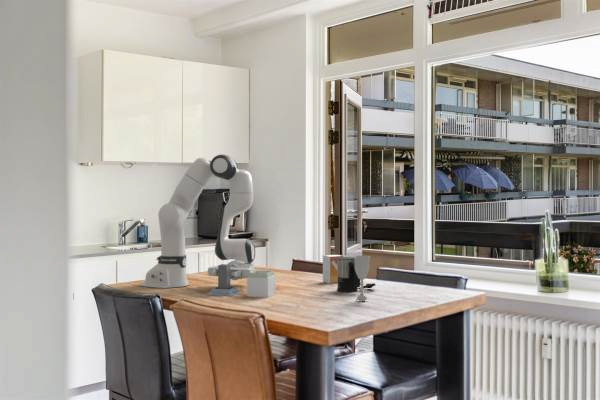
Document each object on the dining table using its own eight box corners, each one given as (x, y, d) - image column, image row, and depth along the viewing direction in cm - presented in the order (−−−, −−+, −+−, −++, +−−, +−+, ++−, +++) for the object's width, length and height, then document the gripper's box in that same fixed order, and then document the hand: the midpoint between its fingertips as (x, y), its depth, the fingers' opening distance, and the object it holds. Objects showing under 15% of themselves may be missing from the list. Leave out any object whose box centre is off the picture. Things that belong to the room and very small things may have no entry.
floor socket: (206, 294, 270) (206, 289, 270) (217, 290, 281) (217, 285, 281) (232, 296, 266) (232, 290, 266) (242, 291, 278) (242, 286, 278)
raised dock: (246, 296, 266) (246, 272, 265) (254, 292, 275) (254, 269, 275) (268, 297, 263) (268, 273, 263) (275, 293, 272) (275, 270, 272)
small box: (330, 283, 300) (330, 256, 300) (322, 282, 306) (322, 255, 305) (343, 282, 305) (343, 255, 304) (335, 280, 310) (335, 254, 310)
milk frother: (332, 290, 280) (332, 257, 280) (354, 286, 291) (354, 254, 291) (357, 294, 270) (357, 260, 270) (379, 290, 281) (379, 257, 281)
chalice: (365, 303, 250) (365, 257, 249) (350, 301, 253) (350, 256, 253) (373, 300, 256) (373, 256, 255) (358, 298, 259) (358, 255, 259)
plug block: (218, 292, 272) (218, 265, 272) (221, 291, 276) (221, 264, 276) (226, 293, 271) (226, 265, 271) (230, 291, 275) (230, 264, 275)
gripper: (214, 262, 289) (201, 266, 275) (256, 263, 283) (245, 267, 270) (214, 276, 289) (201, 280, 276) (256, 277, 283) (245, 282, 270)
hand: (223, 274), depth 273 cm, fingers open, 8 cm apart
